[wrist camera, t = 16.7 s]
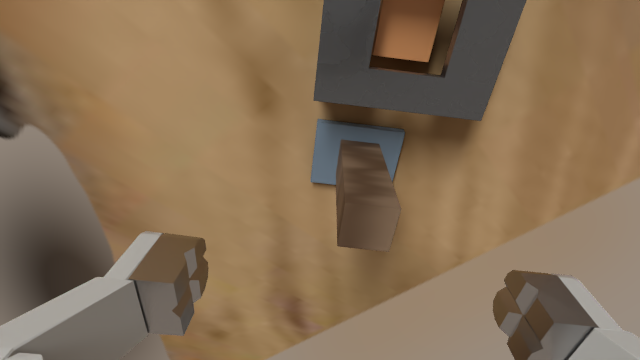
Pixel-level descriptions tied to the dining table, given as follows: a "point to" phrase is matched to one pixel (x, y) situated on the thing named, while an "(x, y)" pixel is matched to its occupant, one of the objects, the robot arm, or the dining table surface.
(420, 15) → the button
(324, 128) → the pad
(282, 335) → the dining table surface
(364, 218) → the brown block
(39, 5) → the dining table surface
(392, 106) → the guard
